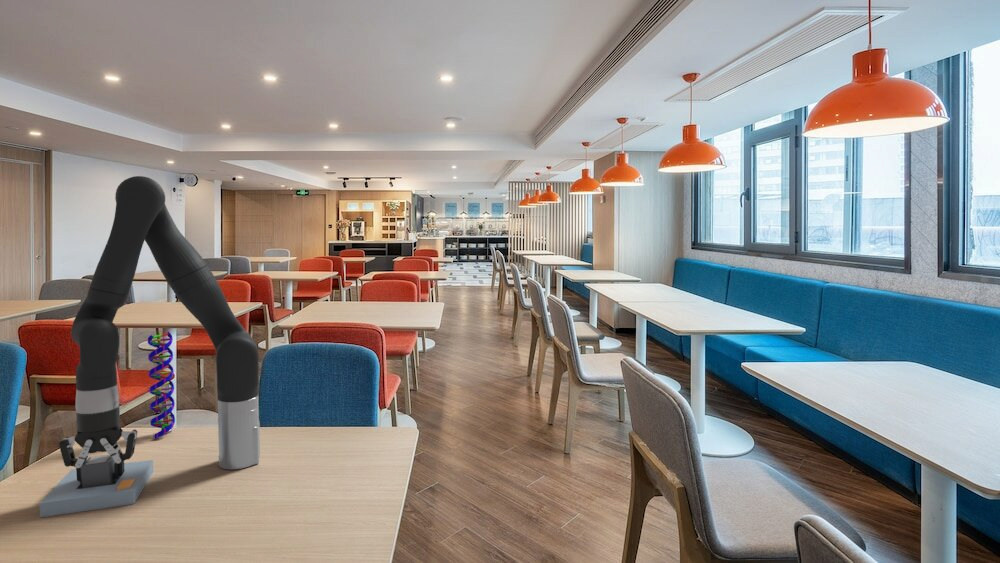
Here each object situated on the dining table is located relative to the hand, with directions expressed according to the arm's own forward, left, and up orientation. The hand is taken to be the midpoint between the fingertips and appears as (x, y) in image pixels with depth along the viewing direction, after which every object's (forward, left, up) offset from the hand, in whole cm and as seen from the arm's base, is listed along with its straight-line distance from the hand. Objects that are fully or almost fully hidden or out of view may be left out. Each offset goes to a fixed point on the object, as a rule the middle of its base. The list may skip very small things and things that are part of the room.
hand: (101, 479), depth 113 cm
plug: (0, 0, -2) cm, 2 cm away
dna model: (-5, -33, -3) cm, 34 cm away
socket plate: (0, 0, -3) cm, 3 cm away
